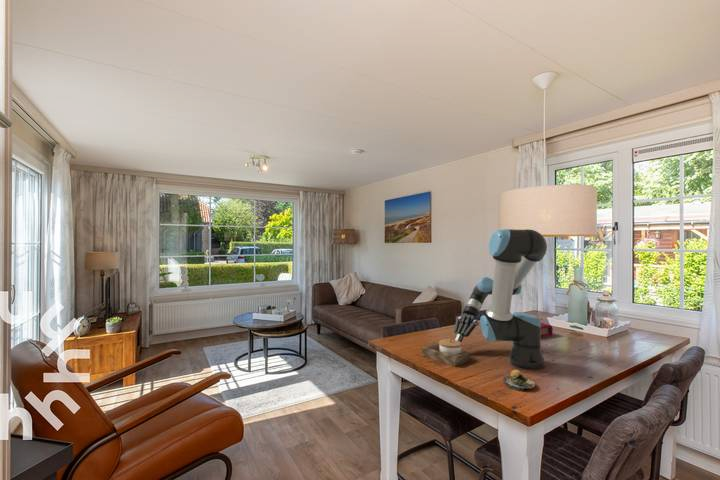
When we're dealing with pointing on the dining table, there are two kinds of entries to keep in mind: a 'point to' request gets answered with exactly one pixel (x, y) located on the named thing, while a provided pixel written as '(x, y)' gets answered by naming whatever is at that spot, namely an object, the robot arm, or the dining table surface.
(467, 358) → the u-shaped bracket
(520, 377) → the plate of food
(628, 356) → the dining table surface
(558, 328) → the dining table surface
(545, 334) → the book
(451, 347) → the lidded jar
